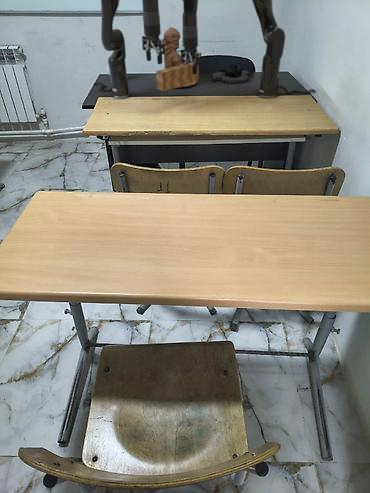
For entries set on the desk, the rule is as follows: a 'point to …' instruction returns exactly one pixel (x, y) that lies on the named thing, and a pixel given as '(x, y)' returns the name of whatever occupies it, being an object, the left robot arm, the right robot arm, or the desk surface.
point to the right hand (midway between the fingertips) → (191, 72)
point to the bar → (176, 76)
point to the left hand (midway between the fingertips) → (154, 62)
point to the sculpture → (173, 50)
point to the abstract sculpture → (231, 74)
